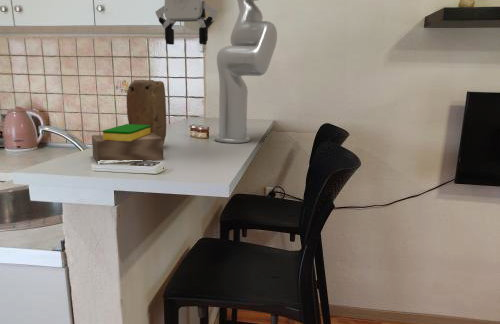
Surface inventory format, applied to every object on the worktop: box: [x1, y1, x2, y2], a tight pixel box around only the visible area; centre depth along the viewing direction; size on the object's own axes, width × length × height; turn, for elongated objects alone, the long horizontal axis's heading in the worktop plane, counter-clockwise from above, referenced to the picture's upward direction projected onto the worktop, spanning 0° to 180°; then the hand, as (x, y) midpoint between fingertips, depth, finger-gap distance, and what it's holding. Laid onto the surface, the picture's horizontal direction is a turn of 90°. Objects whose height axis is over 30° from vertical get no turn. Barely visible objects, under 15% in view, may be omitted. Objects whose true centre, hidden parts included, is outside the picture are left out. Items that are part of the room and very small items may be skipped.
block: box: [126, 79, 167, 145], centre depth 114 cm, size 11×8×20 cm
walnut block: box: [91, 133, 164, 162], centre depth 100 cm, size 16×10×6 cm, turn 118°
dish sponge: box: [102, 123, 150, 141], centre depth 99 cm, size 7×14×2 cm, turn 174°
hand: (186, 44), depth 102 cm, fingers open, 9 cm apart
